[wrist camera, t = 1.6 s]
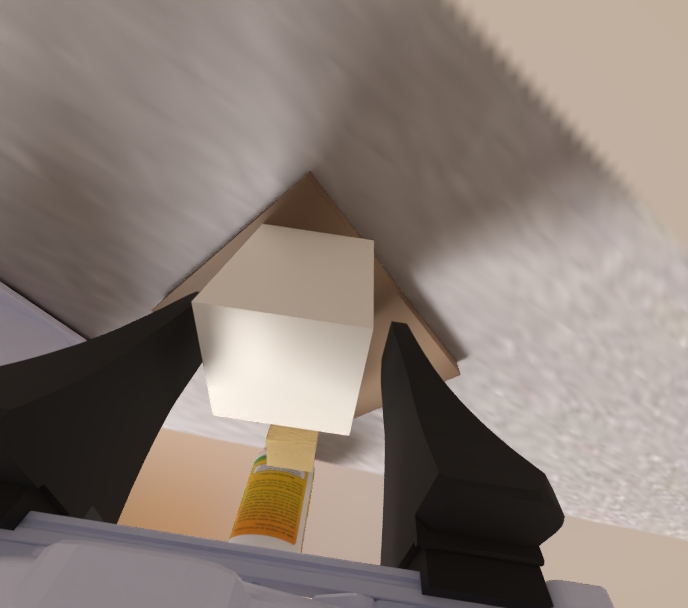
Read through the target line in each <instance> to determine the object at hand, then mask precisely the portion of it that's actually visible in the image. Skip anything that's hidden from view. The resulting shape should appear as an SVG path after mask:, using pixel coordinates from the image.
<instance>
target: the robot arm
mask: <svg viewBox="0 0 688 608" xmlns="http://www.w3.org/2000/svg"><path fill="white" fill-rule="evenodd" d="M199 293H200V292H197V291H196V292H194V293H191V294H189V295H187V296H185V297H183V298H181V299H179V300H177V301H175V302H173V303H171V304H169V305H167V306H165V307H163V308H161V309H159V310H157V311H155V312H153V313H151V314H149V315H147V316H145V317H143V318H140V319H138V320H136V321H134V322H132V323H130V324H127V325H125V326H123V327H121V328H119V329H116V330H114V331H111V332H109V333H106V334H104V335H101V336H99V337H96V338H93V339H90V340H88V341H87V340H86V339H84V338H83V337H81V336H80V335H78V334H77V333H75V332H74V331H72V330H71V329H70V328H68V327H67V326H65V325H64V324H62V323H61V322H59V321H58V320H56V319H55V318H53V317H52V316H50V315H49V314H47V313H46V312H44V311H43V310H41V309H40V308H38V307H37V306H36V305H34V304H33V303H31V302H30V301H28V300H27V299H25V298H24V297H22V296H21V295H19V294H18V293H16V292H15V291H13V290H12V289H10V288H9V287H7V286H6V285H4V284H3V283H2V282H0V608H614V606H613V604H612V602H611V599H610V597H609V595H608V593H607V591H606V590H605V589H604V588H603V587H600V586H595V585H589V584H582V583H576V582H569V581H563V580H550V581H546V582H545V580H544V577H543V575H542V572H541V569H540V566H543V565H544V558H543V556H542V553H541V550H540V547H539V546H540V545H541V544H542V543H543V542H545V541H546V540H547V539H548V538H549V537H551V536H552V535H553V534H555V533H556V532H557V531H558V530H559V529H560V528H561V527H562V525H563V522H564V517H565V516H564V514H563V512H562V509H561V507H560V505H559V502H558V500H557V498H556V495H555V493H554V491H553V489H552V487H551V485H550V483H549V481H548V479H547V477H546V475H545V474H544V473H543V472H542V471H540V470H539V469H538V468H537V467H535V466H534V465H533V464H531V463H530V462H529V461H527V460H526V459H525V458H523V457H522V456H521V455H519V454H518V453H517V452H515V451H514V450H513V449H512V448H510V447H509V446H508V445H507V444H506V443H504V442H503V441H502V440H501V439H500V438H499V437H497V436H496V435H495V434H494V433H493V432H492V431H491V430H490V429H488V428H487V427H486V426H485V425H484V424H483V423H482V422H481V421H480V420H479V419H478V418H477V417H476V416H475V415H474V414H473V413H472V412H471V411H470V410H469V409H468V408H467V407H466V406H465V405H464V404H463V403H462V402H461V401H460V400H459V399H458V397H457V396H456V395H455V394H454V393H453V392H452V391H451V389H450V388H449V387H448V386H447V385H446V383H445V382H444V381H443V379H442V378H441V377H440V375H439V374H438V373H437V371H436V370H435V368H434V367H433V366H432V364H431V363H430V361H429V359H428V358H427V356H426V355H425V353H424V352H423V350H422V348H421V347H420V345H419V343H418V342H417V340H416V338H415V337H414V335H413V333H412V331H411V329H410V328H409V326H408V324H407V323H401V322H394V321H391V325H390V328H389V332H388V336H387V340H386V344H385V347H384V351H383V355H382V359H381V394H382V407H383V419H384V431H385V473H384V506H383V528H382V548H381V564H380V565H373V564H367V563H361V562H354V561H347V560H341V559H335V558H328V557H322V556H316V555H309V554H303V553H297V552H290V551H284V550H278V549H271V548H265V547H258V546H252V545H246V544H239V543H233V542H226V541H220V540H214V539H207V538H201V537H194V536H188V535H182V534H175V533H169V532H163V531H156V530H150V529H143V528H137V527H130V526H124V525H117V522H118V519H119V517H120V515H121V513H122V510H123V508H124V505H125V503H126V501H127V498H128V496H129V494H130V491H131V489H132V487H133V485H134V482H135V480H136V478H137V476H138V474H139V471H140V469H141V467H142V465H143V463H144V460H145V458H146V456H147V454H148V452H149V450H150V448H151V446H152V444H153V442H154V440H155V438H156V436H157V434H158V432H159V431H160V429H161V427H162V425H163V423H164V421H165V419H166V417H167V416H168V414H169V412H170V410H171V408H172V407H173V405H174V404H175V402H176V400H177V399H178V397H179V396H180V394H181V393H182V391H183V390H184V388H185V387H186V386H187V384H188V383H189V381H190V380H191V378H192V377H193V375H194V374H195V372H196V371H197V369H198V368H199V366H200V365H201V363H202V362H203V360H202V355H201V350H200V344H199V339H198V334H197V328H196V323H195V318H194V313H193V307H192V300H193V299H194V298H195V297H196V296H197V295H198V294H199ZM301 596H303V597H301ZM305 597H309V598H312V599H308V598H305Z"/></svg>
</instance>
